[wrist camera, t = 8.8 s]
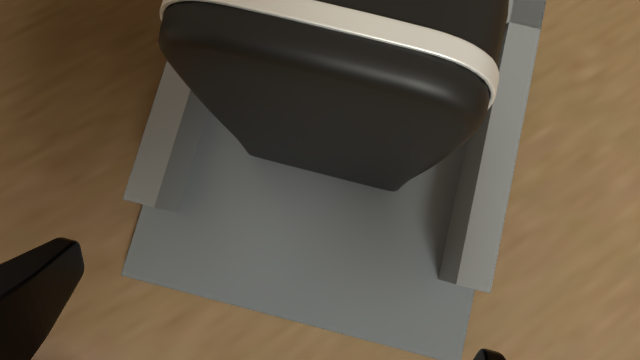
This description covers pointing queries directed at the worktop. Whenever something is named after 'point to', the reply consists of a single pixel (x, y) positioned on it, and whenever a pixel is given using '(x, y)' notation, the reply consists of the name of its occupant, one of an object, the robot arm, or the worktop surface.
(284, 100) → the battery charger
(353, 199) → the tray
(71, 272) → the robot arm
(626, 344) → the worktop surface
